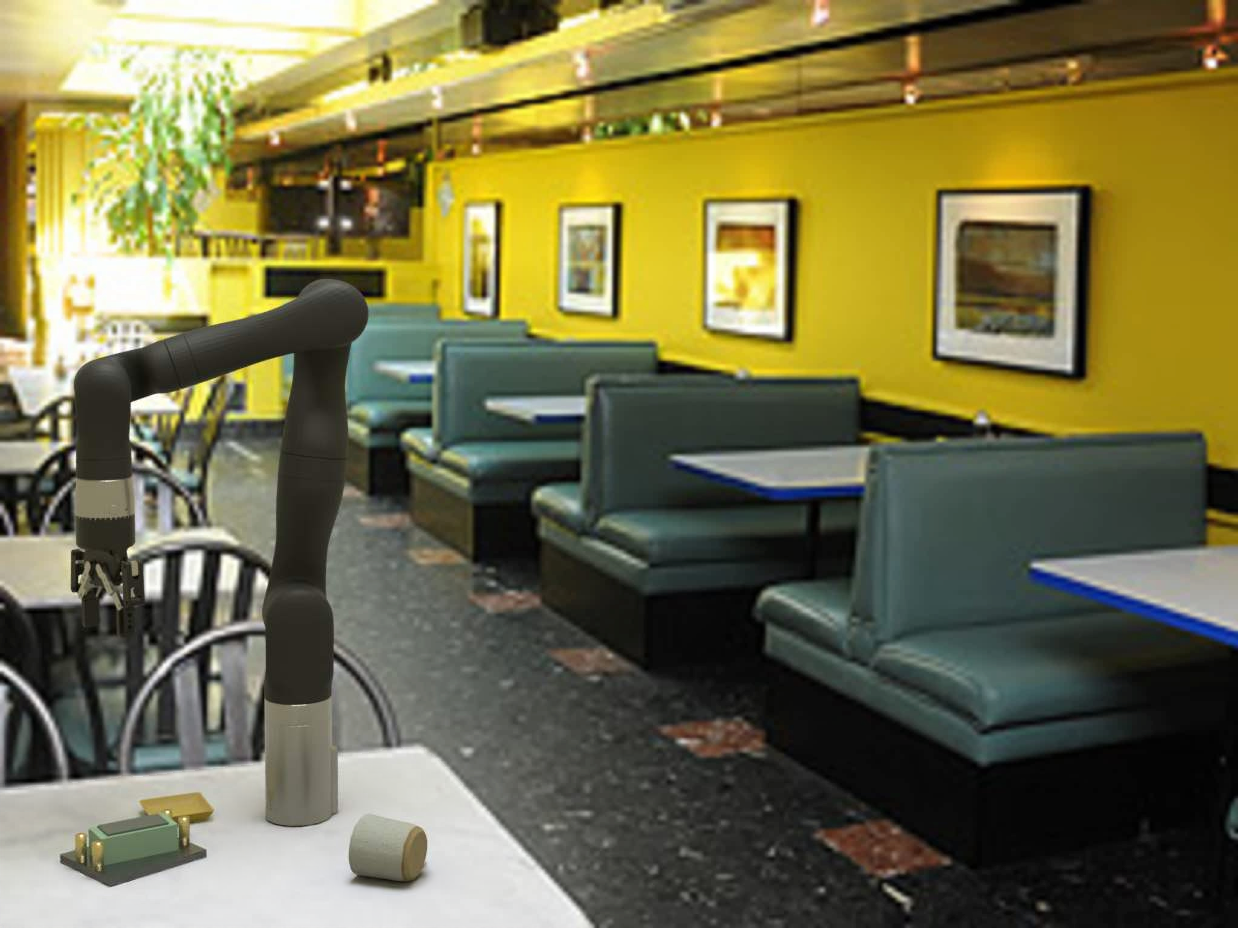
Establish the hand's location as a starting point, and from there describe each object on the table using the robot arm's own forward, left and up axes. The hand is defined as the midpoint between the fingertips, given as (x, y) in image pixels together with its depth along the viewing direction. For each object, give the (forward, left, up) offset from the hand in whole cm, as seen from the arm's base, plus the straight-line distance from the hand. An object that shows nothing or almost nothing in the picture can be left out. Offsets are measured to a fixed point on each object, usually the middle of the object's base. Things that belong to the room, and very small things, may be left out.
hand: (107, 631), depth 215 cm
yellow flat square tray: (-10, 0, -29) cm, 30 cm away
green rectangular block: (+3, +10, -27) cm, 29 cm away
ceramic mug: (-17, +37, -28) cm, 50 cm away
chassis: (+3, +10, -28) cm, 30 cm away
